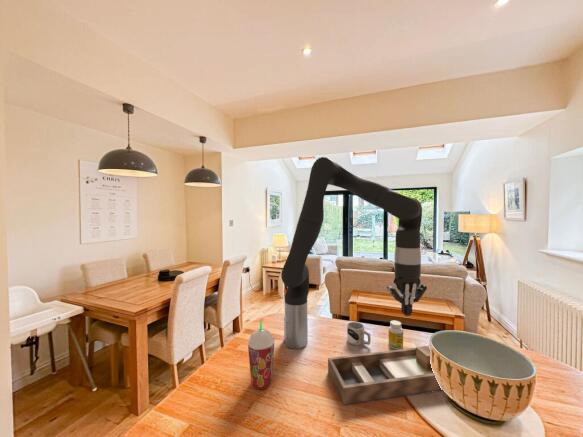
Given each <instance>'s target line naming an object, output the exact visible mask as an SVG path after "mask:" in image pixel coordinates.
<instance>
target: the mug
mask: <svg viewBox="0 0 583 437" xmlns="http://www.w3.org/2000/svg"><path fill="white" fill-rule="evenodd" d="M346 330H347V331H346V333H347V334H346V335H347V336H346V337H347V343H348V344H350V346H351V345H352V346H356V347H360V346H363V345H367V346H370V344H371V339H372V338H371V334H370V332H368V331H367V330H365V325H364V324H363V323H362V322H359V321H358V322H357V321H350V322H348V323H347V329H346ZM365 335H366V337H367V340H365Z"/></svg>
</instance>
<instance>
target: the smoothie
mask: <svg viewBox="0 0 583 437" xmlns="http://www.w3.org/2000/svg"><path fill="white" fill-rule="evenodd" d="M275 340H276V339H275V337H274V336H273V334H272V333H271V331H269V330H268V329H266V328H263V321H262V320H260V321H259V328H257V329H255V330H254V331H253V332H252V333H251V334H250V337H249V339H248V340H247V349H248V361H249V373H250V381H251V384H252V385H253V387H254V388H255V389H256V388H257V390H265V389H267V388H269V387H270V386H271V384H272V382H273V378H274V361H275V360H274V357H275V356H274V355H275V353H274V352H275Z"/></svg>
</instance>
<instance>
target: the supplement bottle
mask: <svg viewBox="0 0 583 437" xmlns="http://www.w3.org/2000/svg"><path fill="white" fill-rule="evenodd" d="M389 325H390V326H389V327H388V346H389V348H391V349H392V350H400V349H404V329H403V328H402V322H401V321H399V320H394V319H393V320H390V323H389Z"/></svg>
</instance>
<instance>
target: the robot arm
mask: <svg viewBox="0 0 583 437" xmlns="http://www.w3.org/2000/svg"><path fill="white" fill-rule="evenodd" d="M328 185H331V186H334V187H337V188H341V189H343V190H346V191H347V192H350V193H352V194H354V195H355V196H357V197H358V198H360V199H361V200H363V201H365V202H367V203H370V204H371V205H372V206H375V207H377V208H380V209H382V210H383V211H385V212H387V214H390V215H392V216H393V217H395V218H397V219H398V226H397V230H396V232H395V247H394V249H395V250H394V268H393V269H394V271H393V272H394V279H393V283H392V284H391V285H387V287H386V288H387V290H388V292H389V293H390V294H391V296H392V297H393V298H394V300H395V301H397V302H399V304H401V310H400V311H401V313H402V314H403V315H404V316H405V317H411V316H412V314H413V304H414V303H418V302H419V301H420V299H421V298H422V296H423V295H424V294H425V292H426V291H427V289H428V287H427V285H424V284H423V283H422V282H421V281H422V280H421V278H420V277H421V275H422V273H421V272H422V270H421V269H422V266H421V265H422V254H421V253H422V252H421V226H422V218H423V206H422V204H421V202H420V201H419V200H418V199H416V198H413V197H409V196H406V195H404V194H401V193H398V192H396V191H394V190H393V189H391V188H390V187H388V186H386V185H383V184H381V183H378V182H376V181H373V180H370V179H368V178H365V177H361V176H359V175H358V174H354V173H352V172H351V171H349V170H347V169H346V168H345V167H343V166H341V165H340V164H339V163H338V162H337V161H335V160H333V159H331V158H330V157H326V156H322V157H319V158H317V159H316V160H315V161H314V162H313V164H312V166H311V170H310V174H309V179H308V184H307V190H306V194H305V197H304V199H303V200H304V201H303V204H302V207H301V211H300V214H299V216H298V220H297V224H296V227H295V231H294V234H293V238H292V242H291V246H290V250H289V252H288V256H287V258H286V260H285V262H284V264H283V267H282V270H281V276H280V277H281V280H282V281H281V282H282V283H283V285H284V286H285V287H286V289H287V290H286V292H285V293H284V317H283V332H284V333H283V334H284V336H283V338H284V344H285V348H291V349H296V350H297V349H303V348H305V347H307V345H308V344H309V339H308V338H309V335H308V334H309V333H308V330H309V329H308V328H309V327H308V324H309V323H308V296H309V291H310V272H309V267H308V265H307V264H306V263H307V259H308V257H309V254H310V252H311V251H312V249H313V247H314V246H315V243H317V240H318V238H319V236H320V232H321V229H322V226H323V222H324V216H325V215H324V214H325V212H324V211H325V210H324V200H325V194H326V191H327V188H328V187H329V186H328Z"/></svg>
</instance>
